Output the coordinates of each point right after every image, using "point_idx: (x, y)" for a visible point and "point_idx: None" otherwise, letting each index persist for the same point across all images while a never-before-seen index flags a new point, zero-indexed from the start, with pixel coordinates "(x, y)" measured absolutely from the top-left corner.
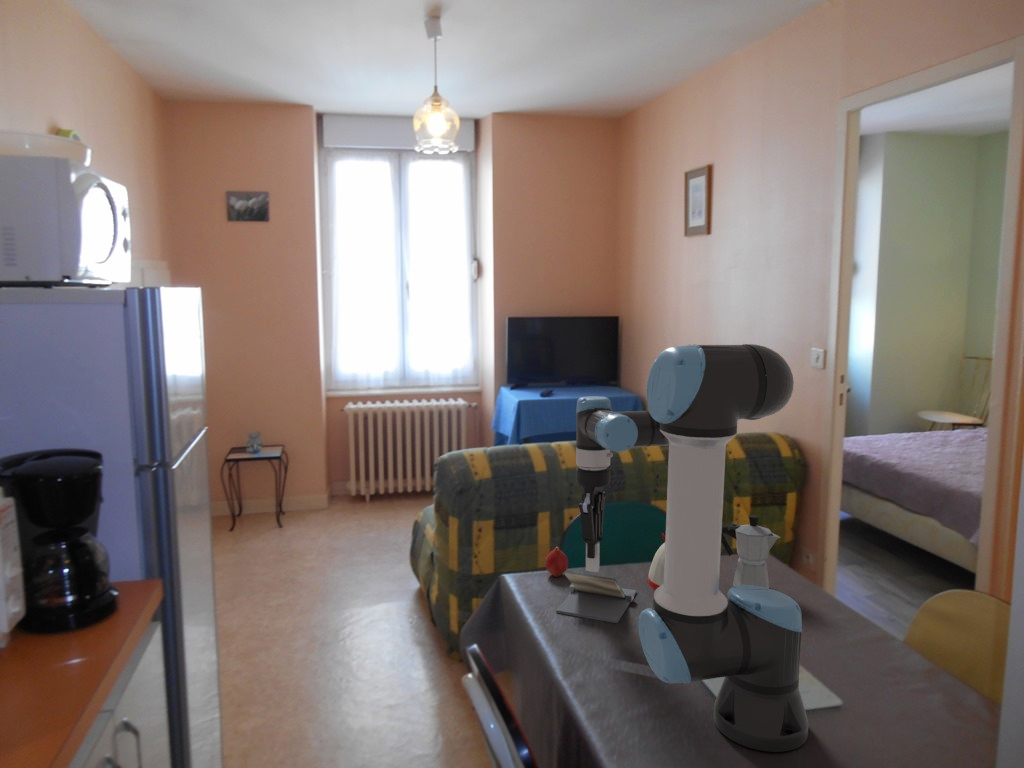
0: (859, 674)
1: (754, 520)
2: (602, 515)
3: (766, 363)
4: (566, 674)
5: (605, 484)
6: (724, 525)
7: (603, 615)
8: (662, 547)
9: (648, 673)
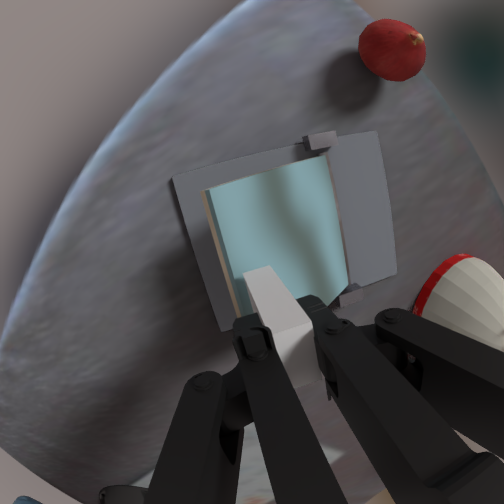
0: None
1: None
2: (467, 431)
3: None
4: (8, 348)
5: None
6: None
7: (225, 293)
8: (498, 321)
9: (105, 433)
